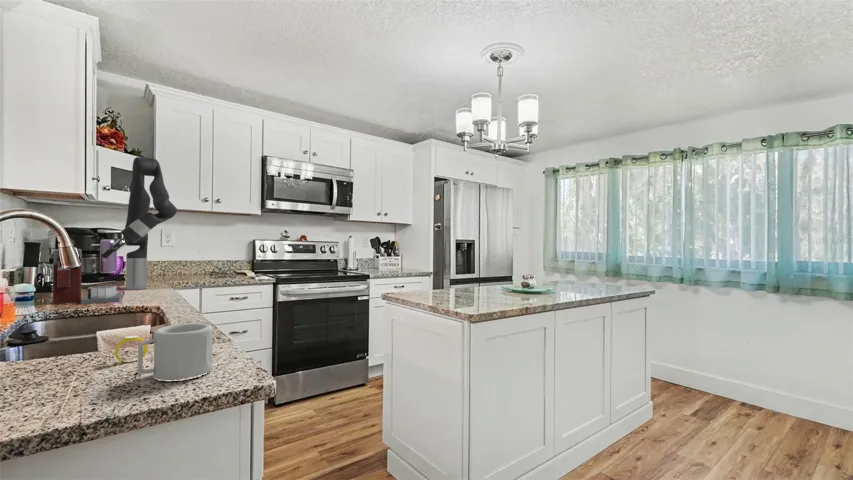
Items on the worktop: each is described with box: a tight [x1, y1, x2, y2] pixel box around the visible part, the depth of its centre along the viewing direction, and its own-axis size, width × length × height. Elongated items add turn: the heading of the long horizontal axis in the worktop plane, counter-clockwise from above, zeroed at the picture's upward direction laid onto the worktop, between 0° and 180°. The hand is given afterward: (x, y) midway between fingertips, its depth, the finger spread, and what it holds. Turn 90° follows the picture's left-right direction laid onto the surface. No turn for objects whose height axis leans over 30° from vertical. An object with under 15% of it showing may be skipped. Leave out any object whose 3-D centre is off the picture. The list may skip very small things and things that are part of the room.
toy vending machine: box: [52, 238, 83, 305], centre depth 172 cm, size 9×11×28 cm
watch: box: [114, 335, 148, 362], centre depth 92 cm, size 6×3×6 cm, turn 139°
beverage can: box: [99, 239, 118, 274], centre depth 180 cm, size 6×6×15 cm
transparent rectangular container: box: [80, 285, 122, 305], centre depth 179 cm, size 18×13×6 cm
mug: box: [137, 322, 214, 380], centre depth 83 cm, size 14×11×10 cm
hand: (103, 256), depth 179 cm, fingers closed on beverage can, 6 cm apart
